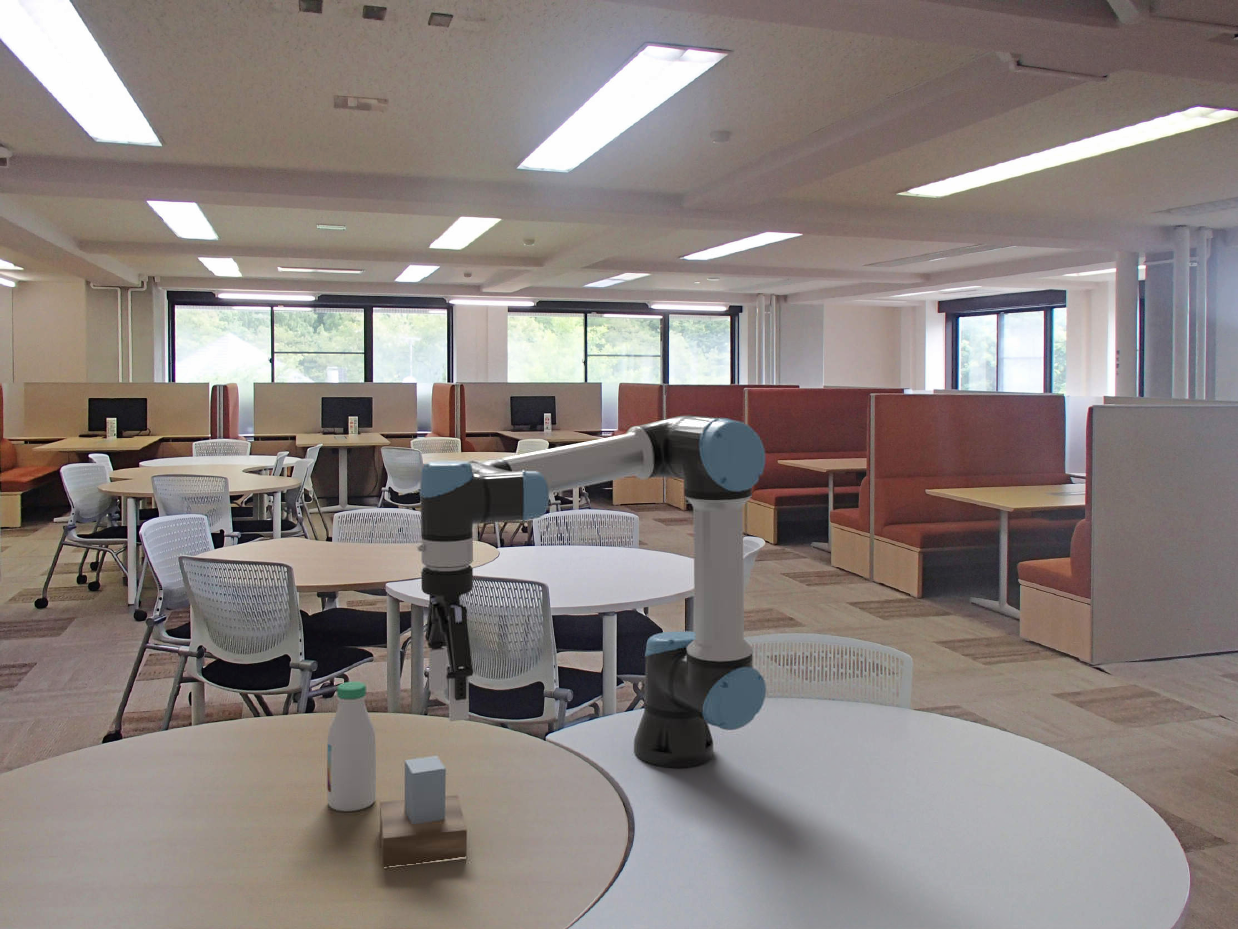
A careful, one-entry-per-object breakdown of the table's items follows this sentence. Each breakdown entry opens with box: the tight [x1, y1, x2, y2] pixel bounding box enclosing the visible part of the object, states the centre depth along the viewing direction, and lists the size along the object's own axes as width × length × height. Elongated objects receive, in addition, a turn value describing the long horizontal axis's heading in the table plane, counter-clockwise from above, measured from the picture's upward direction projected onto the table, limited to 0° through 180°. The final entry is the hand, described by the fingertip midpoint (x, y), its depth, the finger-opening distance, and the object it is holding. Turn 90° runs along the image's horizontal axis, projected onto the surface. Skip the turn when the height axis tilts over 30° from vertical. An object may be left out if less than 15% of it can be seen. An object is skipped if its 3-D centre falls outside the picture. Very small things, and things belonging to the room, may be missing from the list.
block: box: [404, 755, 447, 825], centre depth 149 cm, size 5×5×8 cm
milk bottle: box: [326, 681, 377, 812], centre depth 162 cm, size 8×8×20 cm
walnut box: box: [379, 794, 468, 868], centre depth 149 cm, size 12×12×5 cm
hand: (448, 704), depth 148 cm, fingers open, 13 cm apart
